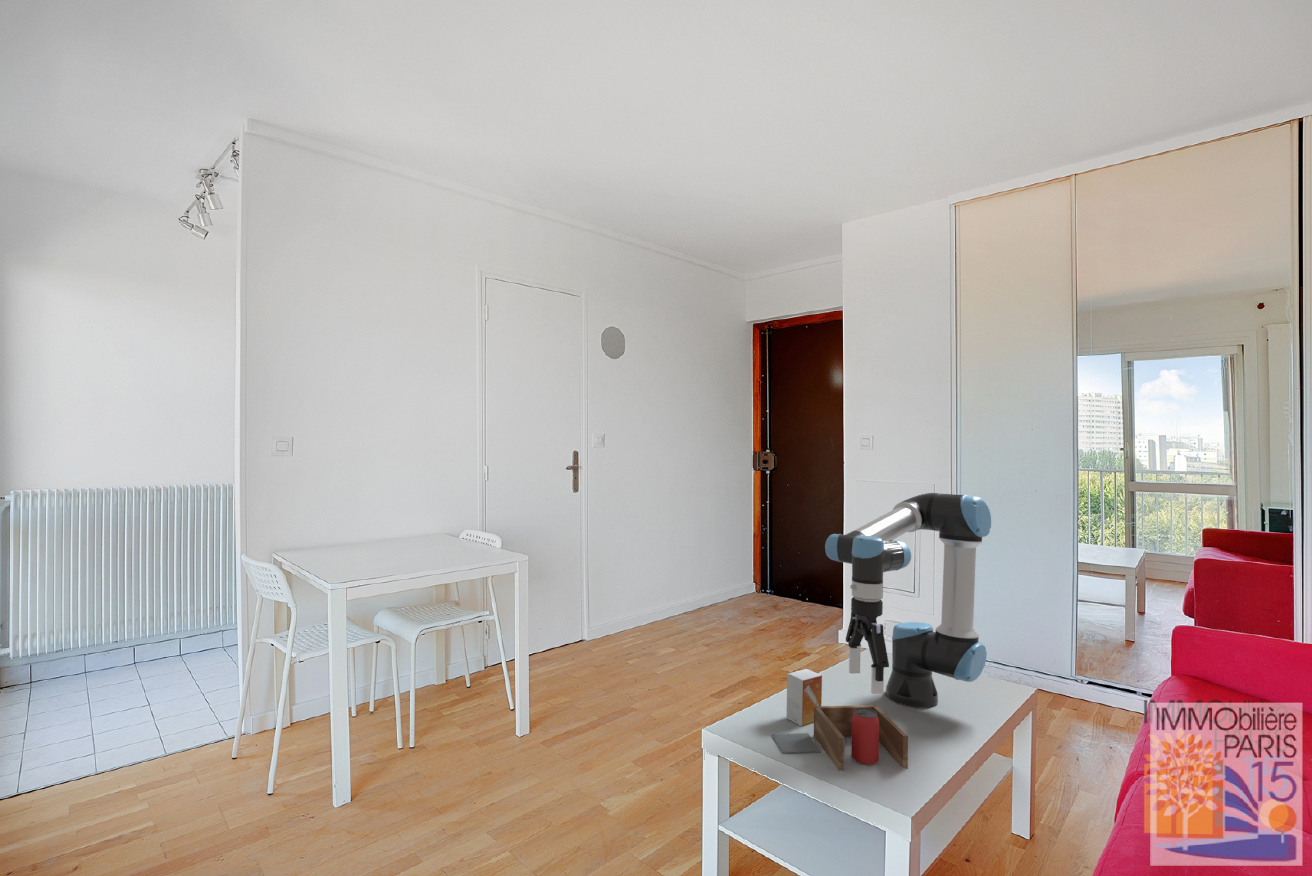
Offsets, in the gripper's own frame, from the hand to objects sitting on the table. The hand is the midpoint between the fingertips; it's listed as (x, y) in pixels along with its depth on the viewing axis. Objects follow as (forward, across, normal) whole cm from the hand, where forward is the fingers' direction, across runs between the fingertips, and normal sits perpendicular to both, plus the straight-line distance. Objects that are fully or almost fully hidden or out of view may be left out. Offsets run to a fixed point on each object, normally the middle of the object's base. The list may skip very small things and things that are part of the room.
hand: (865, 682), depth 159 cm
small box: (+20, -24, -8) cm, 32 cm away
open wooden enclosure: (+19, -4, 0) cm, 20 cm away
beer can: (+20, 0, 0) cm, 20 cm away
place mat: (+19, -9, -15) cm, 26 cm away
